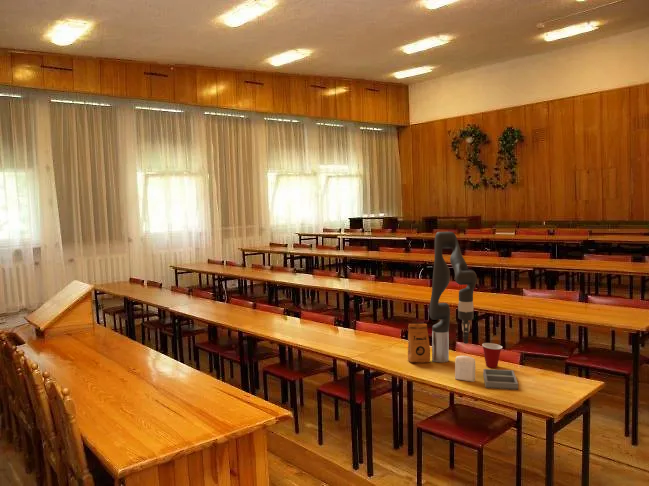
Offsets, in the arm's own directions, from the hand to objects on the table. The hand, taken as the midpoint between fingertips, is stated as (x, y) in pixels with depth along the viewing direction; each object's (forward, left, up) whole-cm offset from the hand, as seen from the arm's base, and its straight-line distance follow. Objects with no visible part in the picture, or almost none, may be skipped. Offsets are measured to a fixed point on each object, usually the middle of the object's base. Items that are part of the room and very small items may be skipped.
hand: (465, 341), depth 278 cm
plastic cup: (+15, +25, -20) cm, 35 cm away
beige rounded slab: (0, 0, -20) cm, 20 cm away
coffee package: (-25, +28, -20) cm, 43 cm away
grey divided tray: (+17, -1, -20) cm, 26 cm away
